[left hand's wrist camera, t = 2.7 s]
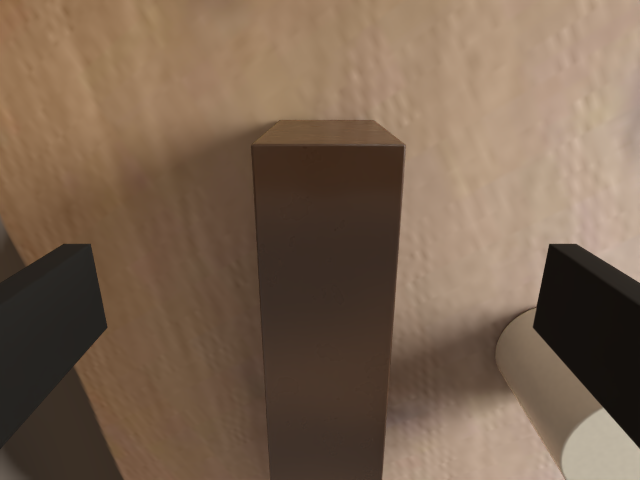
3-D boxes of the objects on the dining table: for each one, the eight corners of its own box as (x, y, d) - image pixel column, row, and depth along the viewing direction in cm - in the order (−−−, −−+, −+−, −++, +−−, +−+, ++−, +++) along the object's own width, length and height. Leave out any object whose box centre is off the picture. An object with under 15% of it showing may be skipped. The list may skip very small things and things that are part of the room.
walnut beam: (279, 120, 22) (250, 144, 13) (374, 120, 22) (406, 144, 13) (291, 483, 31) (278, 632, 23) (358, 484, 31) (371, 634, 23)
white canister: (502, 303, 26) (576, 395, 18) (608, 304, 25) (726, 396, 18) (488, 388, 28) (548, 501, 20) (585, 389, 28) (681, 502, 20)
